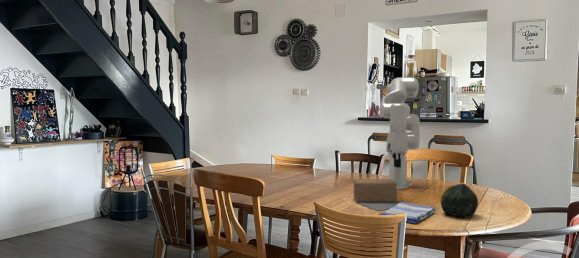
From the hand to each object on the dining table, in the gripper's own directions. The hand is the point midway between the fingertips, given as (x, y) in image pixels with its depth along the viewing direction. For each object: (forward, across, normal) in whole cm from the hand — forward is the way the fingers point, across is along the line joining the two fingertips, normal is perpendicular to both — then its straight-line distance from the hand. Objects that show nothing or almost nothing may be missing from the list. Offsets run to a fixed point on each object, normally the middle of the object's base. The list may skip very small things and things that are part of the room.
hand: (397, 167), depth 208 cm
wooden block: (+12, -2, -4) cm, 13 cm away
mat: (+18, +9, 0) cm, 20 cm away
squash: (+18, -9, +30) cm, 36 cm away
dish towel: (+18, +11, +20) cm, 29 cm away
